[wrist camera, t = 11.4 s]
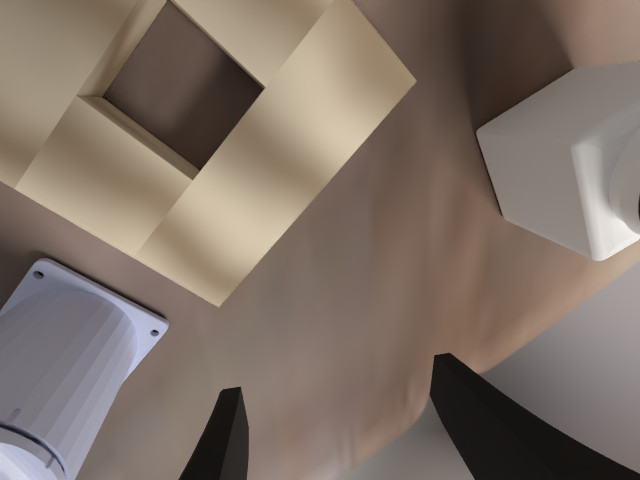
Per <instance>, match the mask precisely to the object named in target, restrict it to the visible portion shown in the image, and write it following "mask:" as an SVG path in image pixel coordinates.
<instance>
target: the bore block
mask: <svg viewBox="0 0 640 480" xmlns="http://www.w3.org/2000/svg"><path fill="white" fill-rule="evenodd" d="M170 1H171V2H172V3H173V4H174V5H175V6H176V7H177V8H178V9H179V10H180V11H181V12H182V13H183V14H184V15H185V16H186V17H188V18H189V19H190V20H191V21H192V22H193V23H194V24H195V25H196V26H197V27H198V28H199V29H200V30H201V31H202V32H203V33H205V34H206V35H207V36H208V37H209V38H210V39H211V40H212V41H213V42H214V43H215V44H216V45H217V46H218V47H219V48H220V49H221V50H223V51H224V52H225V53H226V54H227V55H228V56H229V57H230V58H231V59H232V60H233V61H234V62H235V63H236V64H237V65H238V66H240V67H241V68H242V69H243V70H244V71H245V72H246V73H247V74H248V75H249V76H250V77H251V78H252V79H253V80H254V81H255V82H256V83H258V84H259V85H260V86H261V87H262V88H263V89H264V90H263V91H262V93H261V94H260V95H259V96H258V98H257V99H256V100H255V102H254V103H253V104H252V105H251V107H250V108H249V109H248V111H247V112H246V113H245V114H244V116H243V117H242V118H241V120H240V121H239V122H238V123H237V125H236V126H235V127H234V129H233V130H232V131H231V132H230V134H229V135H228V136H227V138H226V139H225V140H224V141H223V143H222V144H221V145H220V147H219V148H218V149H217V150H216V152H215V153H214V154H213V156H212V157H211V158H210V159H209V161H208V162H207V163H206V165H205V166H204V167H203V168H202V170H201V171H200V170H199V169H197V168H196V167H195V166H193V165H192V164H191V163H189V162H188V161H187V160H185V159H184V158H183V157H181V156H180V155H179V154H177V153H176V152H175V151H173V150H172V149H171V148H169V147H168V146H167V145H165V144H164V143H163V142H161V141H160V140H159V139H157V138H156V137H155V136H153V135H152V134H151V133H149V132H148V131H147V130H145V129H144V128H143V127H141V126H140V125H139V124H137V123H136V122H135V121H133V120H132V119H131V118H129V117H128V116H127V115H125V114H124V113H123V112H121V111H120V110H119V109H117V108H116V107H115V106H113V105H112V104H111V103H109V102H108V101H107V100H105V99H104V98H103V97H102V96H103V95H104V93H105V92H106V91H107V89H108V88H109V86H110V85H111V83H112V82H113V80H114V79H115V77H116V76H117V74H118V73H119V71H120V70H121V68H122V67H123V65H124V64H125V62H126V61H127V59H128V58H129V56H130V55H131V53H132V52H133V51H134V49H135V48H136V46H137V45H138V43H139V42H140V40H141V39H142V37H143V36H144V34H145V33H146V31H147V30H148V28H149V27H150V25H151V24H152V22H153V21H154V19H155V18H156V16H157V15H158V13H159V12H160V10H161V9H162V8H163V6H164V5H165V3H166V2H167V0H0V181H1V182H3V183H5V184H7V185H8V186H10V187H12V188H13V189H15V190H17V191H19V192H20V193H22V194H24V195H26V196H27V197H29V198H31V199H32V200H34V201H36V202H38V203H39V204H41V205H43V206H45V207H46V208H48V209H50V210H51V211H53V212H55V213H57V214H58V215H60V216H62V217H64V218H65V219H67V220H69V221H70V222H72V223H74V224H76V225H77V226H79V227H81V228H83V229H84V230H86V231H88V232H89V233H91V234H93V235H95V236H96V237H98V238H100V239H102V240H103V241H105V242H107V243H108V244H110V245H112V246H114V247H115V248H117V249H119V250H121V251H122V252H124V253H126V254H127V255H129V256H131V257H133V258H134V259H136V260H138V261H140V262H141V263H143V264H145V265H146V266H148V267H150V268H152V269H153V270H155V271H157V272H159V273H160V274H162V275H164V276H165V277H167V278H169V279H171V280H172V281H174V282H176V283H178V284H179V285H181V286H183V287H184V288H186V289H188V290H190V291H191V292H193V293H195V294H197V295H198V296H200V297H202V298H203V299H205V300H207V301H209V302H210V303H212V304H214V305H216V306H217V307H219V306H220V305H221V304H222V303H223V302H224V301H225V299H226V298H227V297H228V296H229V295H230V294H231V293H232V291H233V290H234V289H235V288H236V287H237V286H238V285H239V283H240V282H241V281H242V280H243V279H244V278H245V277H246V275H247V274H248V273H249V272H250V271H251V270H252V269H253V267H254V266H255V265H256V264H257V263H258V262H259V261H260V259H261V258H262V257H263V256H264V255H265V254H266V253H267V251H268V250H269V249H270V248H271V247H272V246H273V245H274V243H275V242H276V241H277V240H278V239H279V238H280V237H281V236H282V234H283V233H284V232H285V231H286V230H287V229H288V228H289V226H290V225H291V224H292V223H293V222H294V221H295V220H296V218H297V217H298V216H299V215H300V214H301V213H302V212H303V210H304V209H305V208H306V207H307V206H308V205H309V204H310V202H311V201H312V200H313V199H314V198H315V197H316V196H317V194H318V193H319V192H320V191H321V190H322V189H323V188H324V186H325V185H326V184H327V183H328V182H329V181H330V180H331V178H332V177H333V176H334V175H335V174H336V173H337V172H338V170H339V169H340V168H341V167H342V166H343V165H344V164H345V162H346V161H347V160H348V159H349V158H350V157H351V156H352V154H353V153H354V152H355V151H356V150H357V149H358V148H359V146H360V145H361V144H362V143H363V142H364V141H365V140H366V138H367V137H368V136H369V135H370V134H371V133H372V132H373V130H374V129H375V128H376V127H377V126H378V125H379V124H380V122H381V121H382V120H383V119H384V118H385V117H386V116H387V114H388V113H389V112H390V111H391V110H392V109H393V108H394V106H395V105H396V104H397V103H398V102H399V101H400V100H401V98H402V97H403V96H404V95H405V94H406V93H407V92H408V90H409V89H410V88H411V87H412V86H413V85H414V84H415V82H416V79H415V78H414V77H413V76H412V74H411V73H410V72H409V71H408V69H407V68H406V67H405V66H404V65H403V63H402V62H401V61H400V60H399V58H398V57H397V56H396V55H395V53H394V52H393V51H392V50H391V48H390V47H389V46H388V45H387V43H386V42H385V41H384V40H383V39H382V37H381V36H380V35H379V34H378V32H377V31H376V30H375V29H374V27H373V26H372V25H371V24H370V22H369V21H368V20H367V19H366V17H365V16H364V15H363V14H362V13H361V11H360V10H359V9H358V8H357V6H356V5H355V4H354V3H353V1H352V0H170Z"/></svg>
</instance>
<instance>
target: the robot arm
mask: <svg viewBox="0 0 640 480" xmlns="http://www.w3.org/2000/svg"><path fill="white" fill-rule="evenodd" d="M37 271H40V272H42V273H43V275H44V276H41V275H39V274H38V272H37ZM168 326H169V323H168V321H167V320H166V319H164V318H162V317H160V316H158V315H156V314H154V313H152V312H151V311H149V310H147V309H145V308H143V307H141V306H139V305H137V304H135V303H133V302H131V301H129V300H128V299H126V298H124V297H122V296H120V295H118V294H116V293H114V292H112V291H110V290H108V289H107V288H105V287H103V286H101V285H99V284H97V283H95V282H93V281H91V280H89V279H87V278H86V277H84V276H82V275H80V274H78V273H76V272H74V271H72V270H70V269H68V268H66V267H65V266H63V265H61V264H59V263H57V262H55V261H53V260H51V259H48V258H41V259H39V260H38V261H36V262H35V263H34V264H33V265H32V267H31V268H30V270H29V271H28V272H27V274H26V275H25V277H24V278H23V279H22V281H21V282H20V284H19V285H18V287H17V288H16V289H15V291H14V292H13V294H12V295H11V296H10V298H9V299H8V301H7V302H6V303H5V305H4V306H3V308H2V309H1V311H0V480H75V478H76V476H77V474H78V472H79V470H80V468H81V466H82V464H83V462H84V460H85V458H86V456H87V454H88V452H89V450H90V448H91V445H92V443H93V441H94V439H95V437H96V435H97V433H98V431H99V429H100V427H101V425H102V423H103V421H104V419H105V417H106V415H107V413H108V411H109V409H110V407H111V405H112V403H113V401H114V399H115V397H116V395H117V393H118V390H119V388H120V386H121V384H122V383H123V381H124V380H125V379H126V378H127V377H128V375H129V374H130V373H131V372H132V371H133V370H134V368H135V367H136V366H137V365H138V364H139V363H140V361H141V360H142V359H143V358H144V357H145V355H146V354H147V353H148V352H149V351H150V350H151V348H152V347H153V346H154V345H155V344H156V343H157V341H158V340H159V339H160V338H161V337H162V336H163V334H164V333H165V332H166V331H167V329H168ZM152 330H157V331H158V332H157V333H156V332H153V331H152ZM430 397H431V399H432V401H433V404H434V406H435V408H436V411H437V413H438V415H439V417H440V419H441V422H442V424H443V425H444V427H445V429H446V431H447V432H448V434H449V436H450V438H451V439H452V441H453V443H454V445H455V446H456V448H457V450H458V451H459V453H460V455H461V457H462V458H463V460H464V462H465V463H466V465H467V467H468V469H469V470H470V472H471V474H472V475H473V477H474V479H475V480H640V474H639V473H637V472H635V471H633V470H631V469H629V468H627V467H625V466H623V465H621V464H619V463H617V462H615V461H613V460H611V459H609V458H607V457H605V456H604V455H602V454H600V453H598V452H596V451H594V450H592V449H590V448H589V447H587V446H585V445H583V444H581V443H580V442H578V441H576V440H574V439H573V438H571V437H569V436H568V435H566V434H564V433H562V432H561V431H559V430H558V429H556V428H554V427H552V426H551V425H549V424H548V423H546V422H545V421H543V420H541V419H540V418H538V417H537V416H535V415H534V414H532V413H531V412H529V411H528V410H526V409H525V408H523V407H522V406H520V405H519V404H517V403H516V402H514V401H513V400H512V399H510V398H509V397H508V396H506V395H505V394H503V393H502V392H501V391H499V390H498V389H496V388H495V387H494V386H492V385H491V384H490V383H488V382H487V381H486V380H484V379H483V378H482V377H481V376H479V375H478V374H477V373H475V372H474V371H473V370H471V369H470V368H469V367H468V366H466V365H465V364H464V363H462V362H461V361H460V360H458V359H457V358H456V357H455V356H453V355H452V354H451V353H446V354H439V355H435V356H434V364H433V372H432V380H431V388H430ZM248 457H249V426H248V421H247V416H246V411H245V406H244V401H243V396H242V390H241V387H235V388H229V389H223V390H222V391H221V392H220V394H219V397H218V400H217V402H216V405H215V407H214V410H213V412H212V414H211V417H210V419H209V421H208V423H207V425H206V428H205V430H204V432H203V434H202V436H201V438H200V440H199V442H198V444H197V446H196V448H195V450H194V452H193V454H192V456H191V458H190V460H189V462H188V463H187V465H186V467H185V469H184V471H183V472H182V474H181V476H180V478H179V480H247V470H248Z"/></svg>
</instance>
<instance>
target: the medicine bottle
mask: <svg viewBox="0 0 640 480" xmlns="http://www.w3.org/2000/svg"><path fill="white" fill-rule="evenodd" d="M476 136H477V139H478V142H479V145H480V148H481V151H482V154H483V157H484V160H485V163H486V166H487V169H488V172H489V175H490V178H491V181H492V184H493V187H494V190H495V193H496V196H497V199H498V202H499V205H500V208H501V211H502V214H503V217H504V219H505V220H507V221H509V222H511V223H513V224H516V225H518V226H520V227H522V228H525V229H527V230H529V231H531V232H533V233H536V234H538V235H540V236H542V237H544V238H547V239H549V240H551V241H553V242H555V243H558V244H560V245H562V246H564V247H567V248H569V249H571V250H573V251H575V252H578V253H580V254H582V255H584V256H586V257H589V258H591V259H593V260H598V261H601V260H604V259H606V258H608V257H610V256H612V255H613V254H615V253H617V252H618V251H620V250H622V249H623V248H625V247H627V246H629V245H630V244H632V243H634V242H635V241H637V240H639V239H640V60H638V61H630V62H622V63H614V64H606V65H598V66H590V67H582V68H576V69H573V70H571V71H570V72H568V73H567V74H565V75H563V76H562V77H560V78H559V79H557V80H555V81H554V82H552V83H551V84H549V85H547V86H546V87H544V88H543V89H541V90H539V91H538V92H536V93H535V94H533V95H531V96H530V97H528V98H527V99H525V100H523V101H522V102H520V103H518V104H517V105H515V106H514V107H512V108H510V109H509V110H507V111H506V112H504V113H502V114H501V115H499V116H498V117H496V118H494V119H493V120H491V121H490V122H488V123H486V124H485V125H483V126H482V127H480V128H479V129H478V130H477V132H476Z"/></svg>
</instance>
